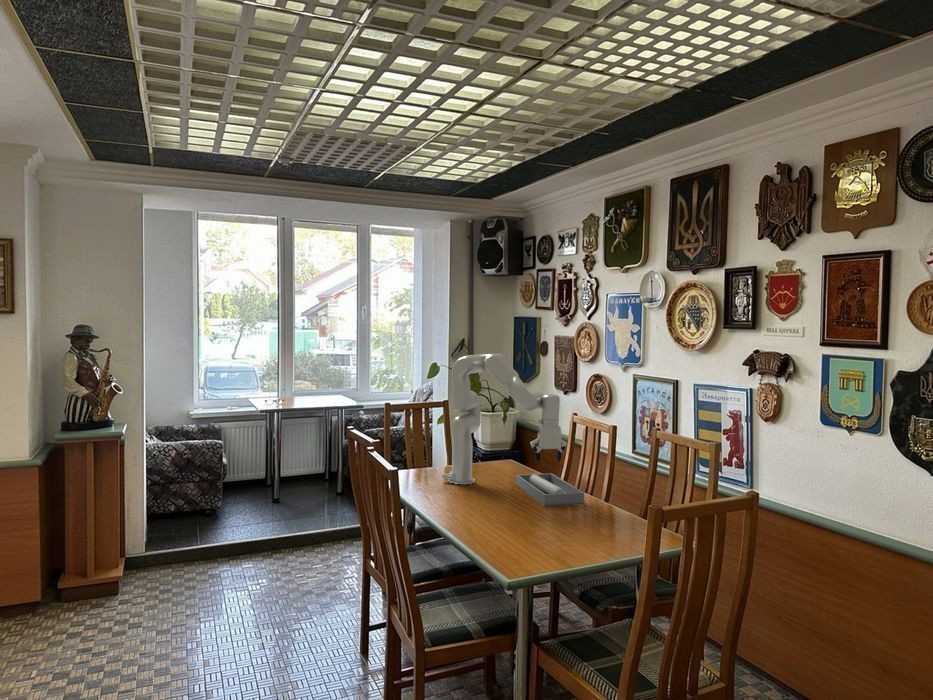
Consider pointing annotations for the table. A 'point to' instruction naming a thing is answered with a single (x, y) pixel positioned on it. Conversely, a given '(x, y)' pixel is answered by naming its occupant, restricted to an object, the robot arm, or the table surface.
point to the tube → (544, 485)
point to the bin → (545, 499)
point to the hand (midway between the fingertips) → (547, 461)
